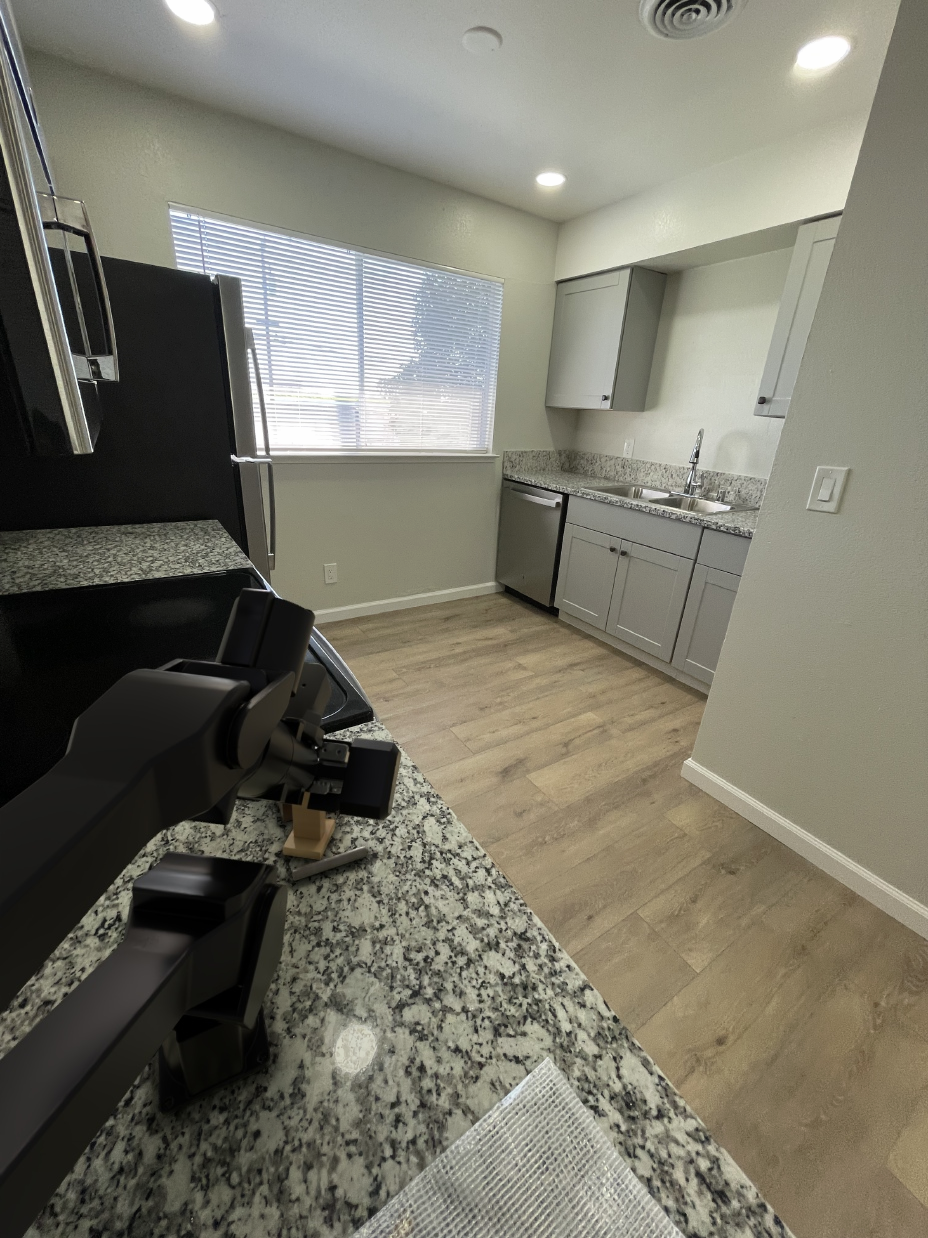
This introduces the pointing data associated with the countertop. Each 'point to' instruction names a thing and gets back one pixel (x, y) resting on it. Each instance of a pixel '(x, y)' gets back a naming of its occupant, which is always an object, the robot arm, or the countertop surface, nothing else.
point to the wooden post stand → (308, 832)
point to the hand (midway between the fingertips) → (313, 778)
